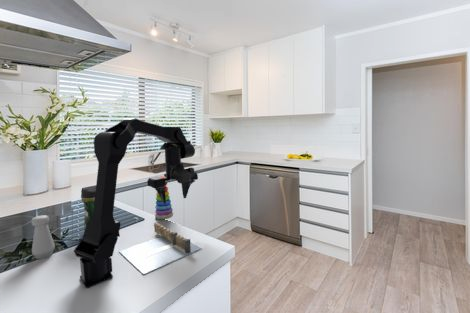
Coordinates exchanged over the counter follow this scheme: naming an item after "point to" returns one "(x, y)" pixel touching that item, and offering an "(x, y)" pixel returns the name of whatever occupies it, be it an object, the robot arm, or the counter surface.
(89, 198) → the coffee jar
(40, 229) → the salt shaker
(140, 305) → the counter surface
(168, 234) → the folding fence panel
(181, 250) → the card
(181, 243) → the fixed fence section
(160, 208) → the stacking toy
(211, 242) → the counter surface
